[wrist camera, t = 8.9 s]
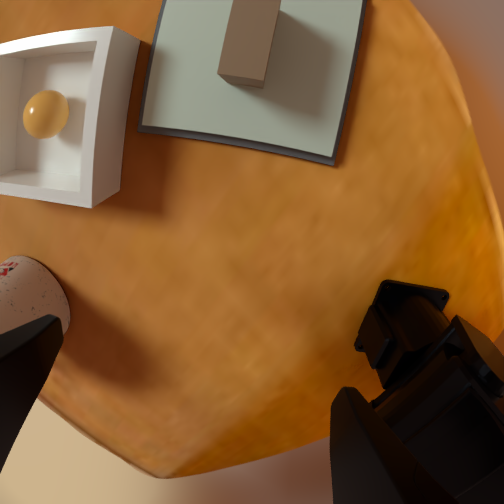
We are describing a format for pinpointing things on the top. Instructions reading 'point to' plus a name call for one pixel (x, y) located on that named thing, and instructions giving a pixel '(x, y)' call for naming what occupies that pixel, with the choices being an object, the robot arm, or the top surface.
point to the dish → (88, 120)
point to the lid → (254, 69)
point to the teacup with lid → (29, 294)
